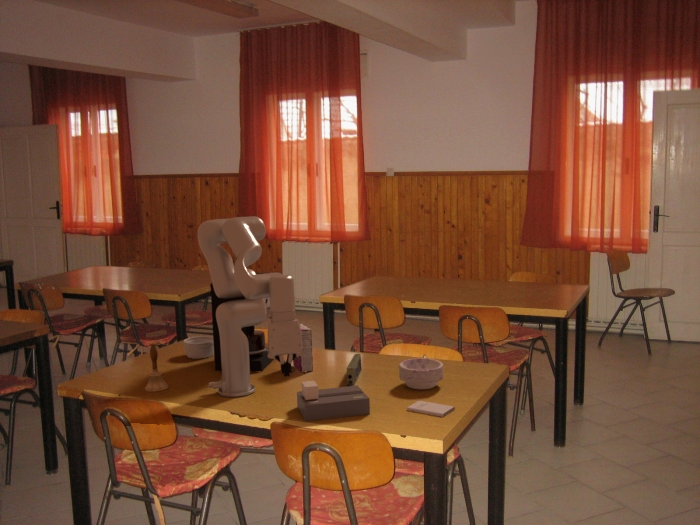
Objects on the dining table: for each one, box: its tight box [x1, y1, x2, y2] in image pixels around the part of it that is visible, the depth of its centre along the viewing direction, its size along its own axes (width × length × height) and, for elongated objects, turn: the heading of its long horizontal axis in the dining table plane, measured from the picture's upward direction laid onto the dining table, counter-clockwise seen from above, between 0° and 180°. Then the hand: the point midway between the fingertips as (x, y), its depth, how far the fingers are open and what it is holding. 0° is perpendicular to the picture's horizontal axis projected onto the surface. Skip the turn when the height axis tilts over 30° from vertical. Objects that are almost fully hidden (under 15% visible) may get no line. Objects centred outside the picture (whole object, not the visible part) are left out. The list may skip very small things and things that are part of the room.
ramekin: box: [183, 335, 214, 360], centre depth 289 cm, size 13×13×7 cm
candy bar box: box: [292, 323, 314, 373], centre depth 264 cm, size 11×5×16 cm, turn 22°
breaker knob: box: [301, 380, 319, 400], centre depth 213 cm, size 4×6×4 cm, turn 14°
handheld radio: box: [345, 353, 363, 387], centre depth 248 cm, size 7×3×25 cm
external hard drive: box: [406, 400, 456, 418], centre depth 214 cm, size 2×8×12 cm
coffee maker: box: [209, 272, 275, 373], centre depth 271 cm, size 28×20×35 cm
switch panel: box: [296, 385, 371, 422], centre depth 215 cm, size 20×14×5 cm
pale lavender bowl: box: [398, 357, 444, 391], centre depth 238 cm, size 15×15×8 cm
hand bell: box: [144, 343, 169, 393], centre depth 244 cm, size 8×8×16 cm
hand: (286, 375), depth 210 cm, fingers closed
